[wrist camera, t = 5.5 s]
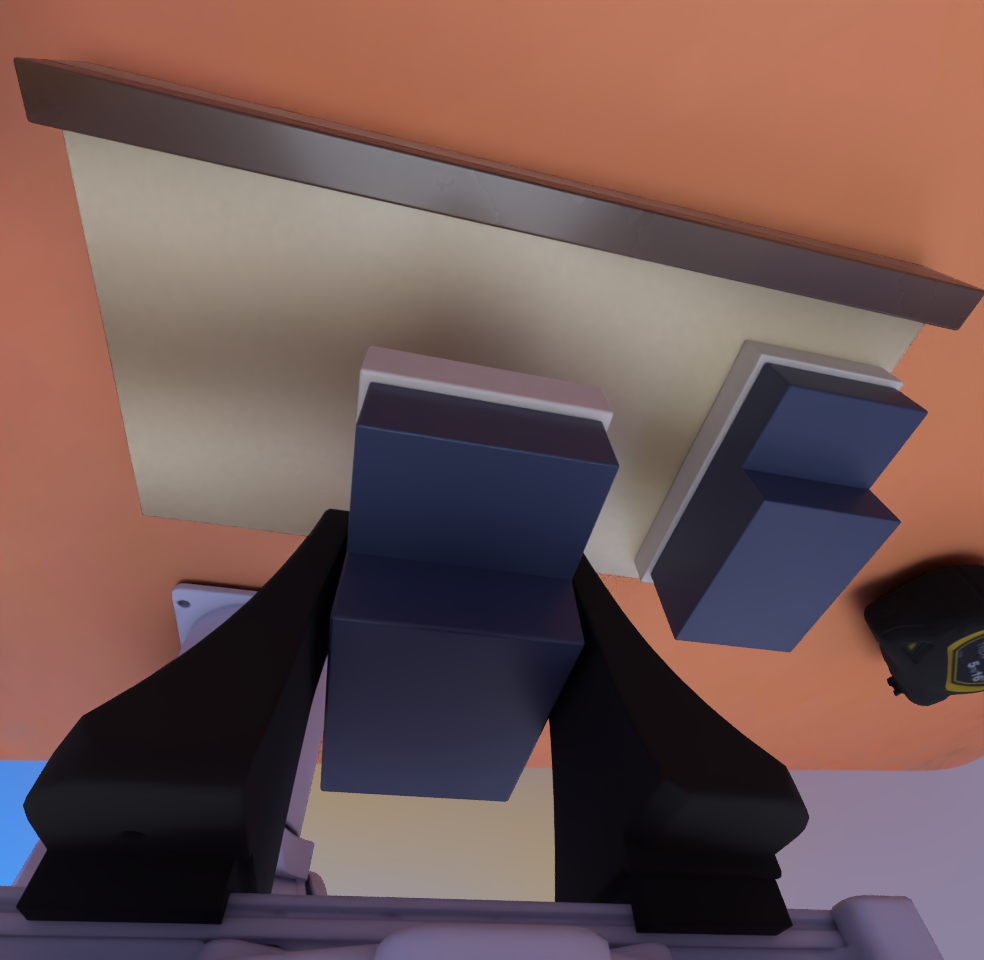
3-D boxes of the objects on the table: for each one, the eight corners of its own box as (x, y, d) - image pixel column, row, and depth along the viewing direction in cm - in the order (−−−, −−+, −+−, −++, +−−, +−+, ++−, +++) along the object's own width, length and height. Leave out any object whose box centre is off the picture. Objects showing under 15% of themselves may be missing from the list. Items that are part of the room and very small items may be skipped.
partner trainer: (740, 575, 24) (788, 661, 20) (633, 561, 23) (663, 648, 19) (881, 366, 18) (983, 436, 14) (745, 338, 17) (817, 404, 14)
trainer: (502, 663, 17) (511, 812, 14) (343, 648, 17) (310, 801, 13) (603, 386, 12) (662, 517, 8) (368, 343, 11) (322, 468, 7)
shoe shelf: (726, 568, 26) (750, 613, 23) (159, 491, 22) (125, 537, 20) (923, 265, 18) (987, 291, 15) (83, 60, 14) (11, 56, 12)
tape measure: (842, 588, 27) (890, 652, 24) (997, 528, 25) (1070, 590, 22) (868, 657, 30) (912, 720, 27) (1006, 610, 28) (1070, 673, 25)
